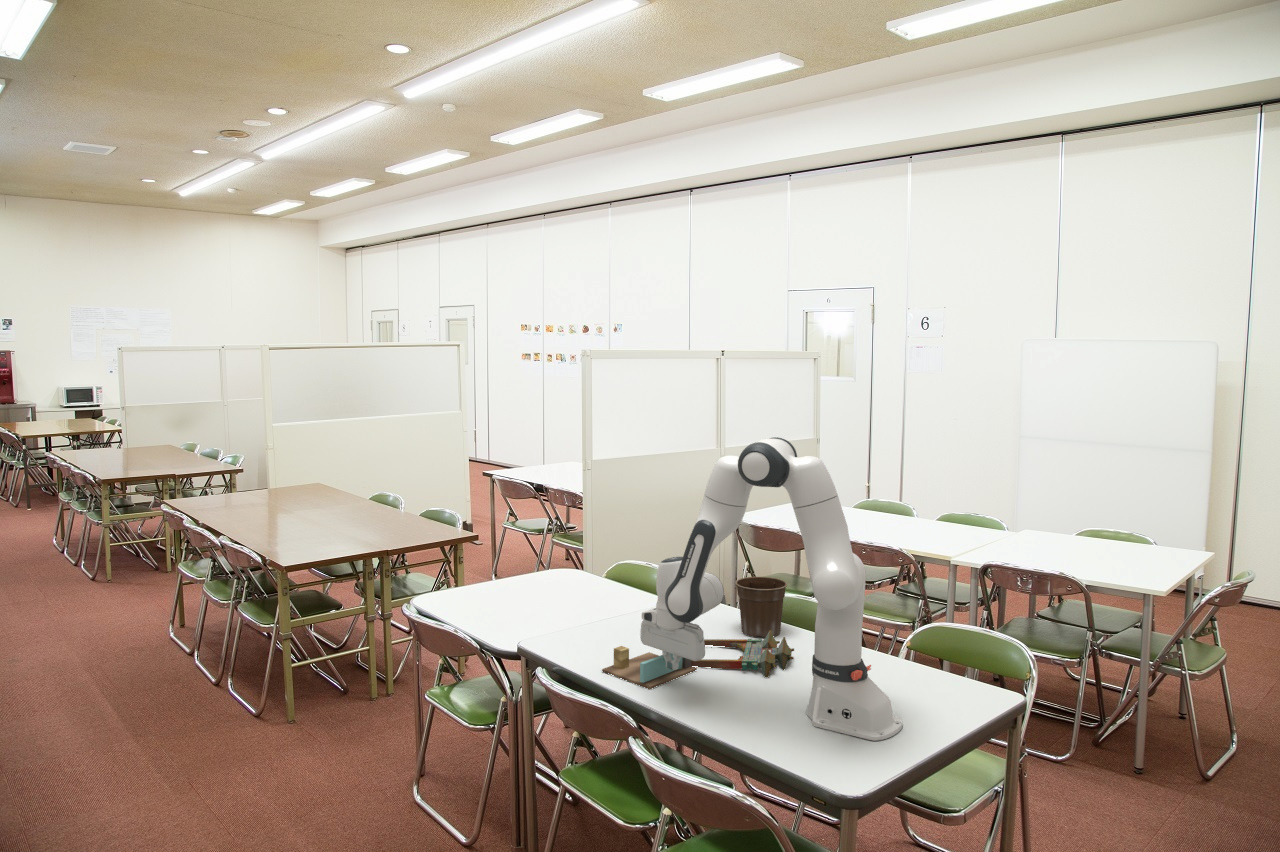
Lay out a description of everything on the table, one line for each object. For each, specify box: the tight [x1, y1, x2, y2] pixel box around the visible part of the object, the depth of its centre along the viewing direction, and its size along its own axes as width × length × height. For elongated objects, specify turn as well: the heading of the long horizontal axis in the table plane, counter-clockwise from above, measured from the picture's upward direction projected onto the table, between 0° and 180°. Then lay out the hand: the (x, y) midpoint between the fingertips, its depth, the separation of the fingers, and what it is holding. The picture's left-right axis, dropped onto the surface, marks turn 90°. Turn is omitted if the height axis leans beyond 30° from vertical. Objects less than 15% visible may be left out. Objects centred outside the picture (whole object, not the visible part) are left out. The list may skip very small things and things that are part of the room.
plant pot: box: [735, 576, 788, 639], centre depth 264 cm, size 16×16×16 cm
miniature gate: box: [691, 630, 795, 678], centre depth 240 cm, size 27×6×30 cm
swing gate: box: [640, 654, 682, 683], centre depth 224 cm, size 2×16×5 cm, turn 137°
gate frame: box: [601, 645, 698, 690], centre depth 230 cm, size 18×19×9 cm
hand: (671, 668), depth 222 cm, fingers closed
